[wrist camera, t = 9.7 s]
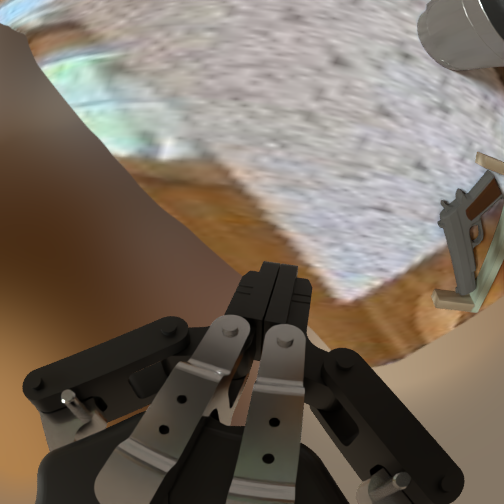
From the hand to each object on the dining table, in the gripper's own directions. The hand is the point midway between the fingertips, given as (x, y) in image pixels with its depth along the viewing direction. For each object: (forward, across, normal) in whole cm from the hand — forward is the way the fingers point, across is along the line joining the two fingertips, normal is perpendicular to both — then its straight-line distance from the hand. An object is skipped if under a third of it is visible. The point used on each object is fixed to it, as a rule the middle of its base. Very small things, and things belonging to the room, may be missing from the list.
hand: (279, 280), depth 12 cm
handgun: (+27, -27, +7) cm, 39 cm away
